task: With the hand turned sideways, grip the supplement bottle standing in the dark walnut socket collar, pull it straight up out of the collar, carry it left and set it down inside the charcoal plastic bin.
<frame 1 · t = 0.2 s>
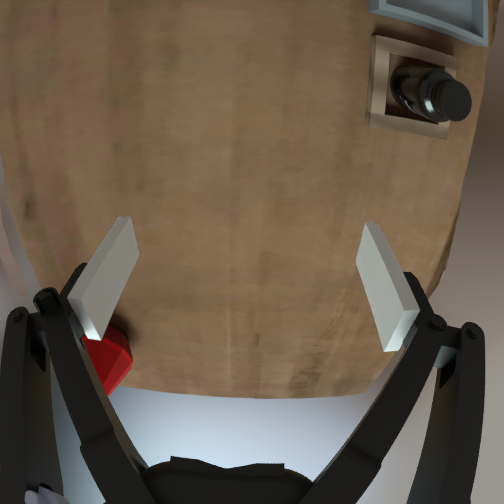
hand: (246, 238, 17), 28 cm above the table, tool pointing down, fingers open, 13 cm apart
socket collar: (410, 87, 35), on the table
bottle: (110, 336, 65), on the table
supplement bottle: (409, 87, 35), resting in socket collar
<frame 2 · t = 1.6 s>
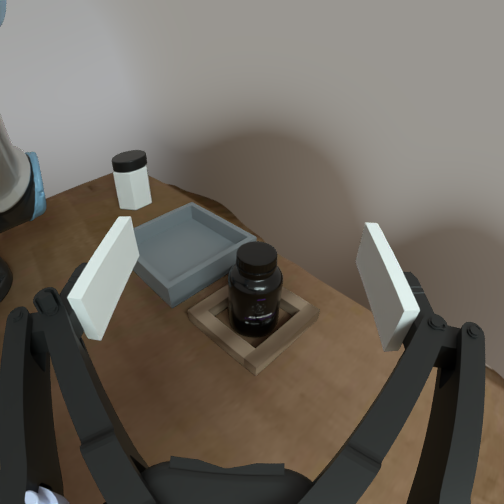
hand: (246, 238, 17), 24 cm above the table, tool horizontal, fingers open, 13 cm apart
socket collar: (253, 320, 44), on the table
jar: (136, 202, 72), on the table
bin: (184, 255, 55), on the table
supplement bottle: (253, 321, 44), resting in socket collar
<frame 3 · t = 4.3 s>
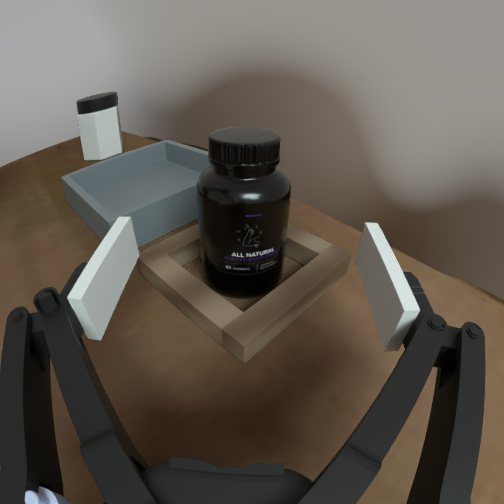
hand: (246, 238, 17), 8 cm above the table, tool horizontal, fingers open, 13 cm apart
socket collar: (243, 273, 27), on the table
jar: (104, 154, 55), on the table
bin: (149, 197, 39), on the table
supplement bottle: (243, 275, 27), resting in socket collar
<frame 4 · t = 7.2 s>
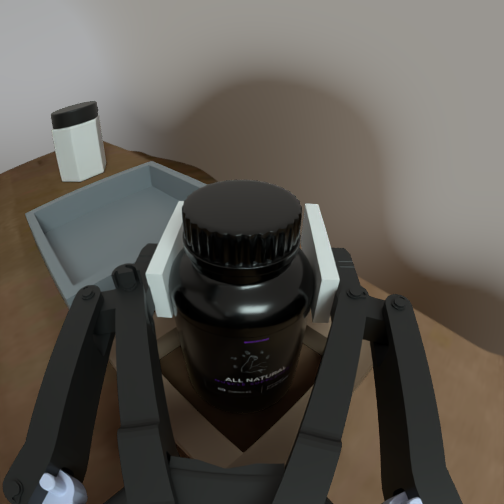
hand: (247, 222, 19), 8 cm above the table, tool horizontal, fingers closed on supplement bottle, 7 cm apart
socket collar: (242, 370, 19), on the table
jar: (84, 173, 48), on the table
bin: (127, 240, 31), on the table
supplement bottle: (242, 372, 20), resting in socket collar, touching gripper
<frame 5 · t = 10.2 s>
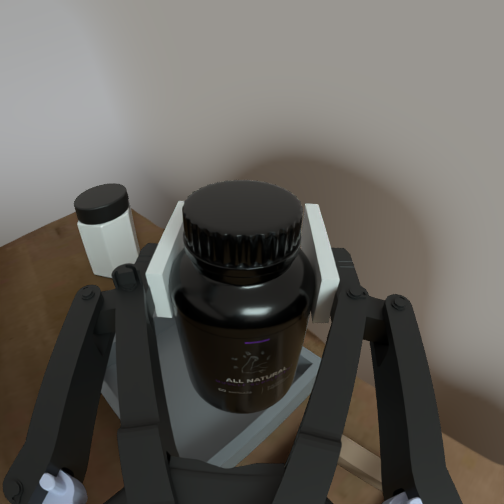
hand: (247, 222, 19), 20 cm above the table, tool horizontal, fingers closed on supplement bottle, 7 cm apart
jar: (117, 263, 47), on the table
bin: (199, 385, 31), on the table
supplement bottle: (242, 372, 19), point 12 cm above the table, touching gripper
when the fingers open (10 cm above the table, at t = 13.2 s): supplement bottle drops 1 cm, resting on bin.
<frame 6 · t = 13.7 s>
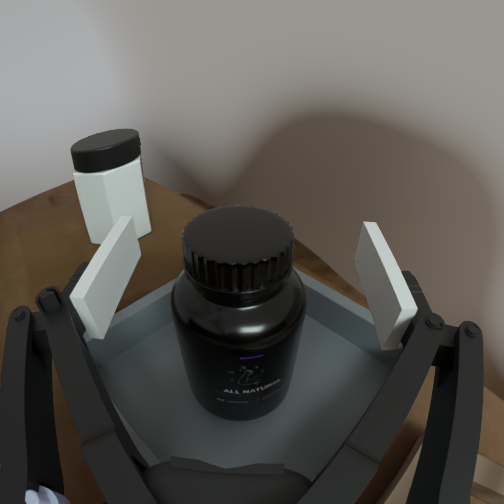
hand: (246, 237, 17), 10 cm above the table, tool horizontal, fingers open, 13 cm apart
jar: (121, 230, 38), on the table
bin: (244, 388, 21), on the table
supplement bottle: (241, 382, 20), point 1 cm above the table, touching bin
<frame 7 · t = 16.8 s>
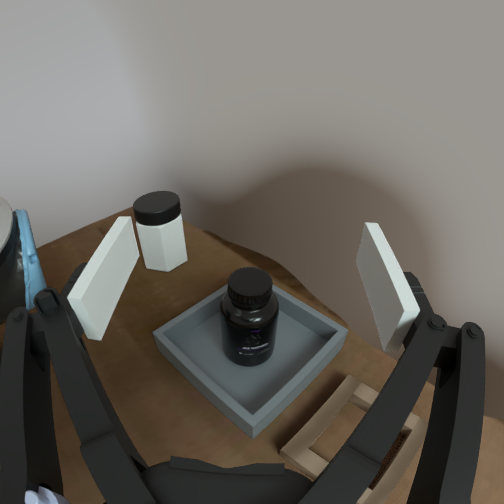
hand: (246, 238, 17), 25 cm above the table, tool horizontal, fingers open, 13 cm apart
socket collar: (358, 445, 29), on the table
jar: (165, 258, 58), on the table
bin: (250, 352, 41), on the table
supplement bottle: (249, 348, 40), point 1 cm above the table, touching bin
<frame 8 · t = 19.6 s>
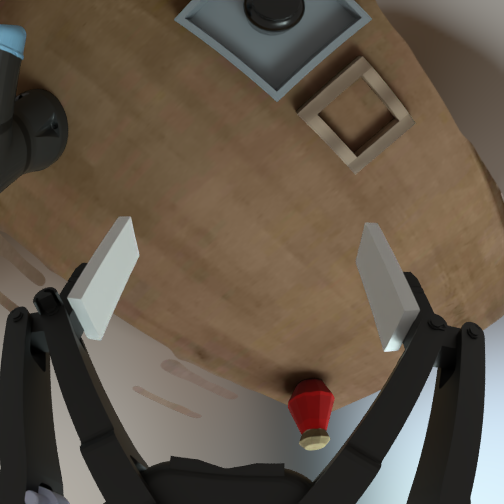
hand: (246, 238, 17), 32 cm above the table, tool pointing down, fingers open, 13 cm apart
socket collar: (356, 114, 41), on the table
bottle: (309, 385, 86), on the table
bin: (273, 14, 33), on the table
supplement bottle: (271, 13, 33), point 1 cm above the table, touching bin
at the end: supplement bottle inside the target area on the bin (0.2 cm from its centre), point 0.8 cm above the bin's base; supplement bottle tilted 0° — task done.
